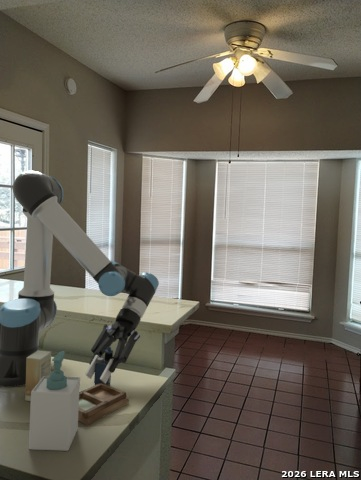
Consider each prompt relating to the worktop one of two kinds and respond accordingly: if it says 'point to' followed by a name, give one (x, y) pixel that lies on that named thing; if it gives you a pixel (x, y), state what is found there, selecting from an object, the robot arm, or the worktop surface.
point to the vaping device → (102, 366)
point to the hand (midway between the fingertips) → (95, 378)
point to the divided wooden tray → (99, 402)
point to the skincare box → (36, 370)
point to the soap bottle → (54, 410)
